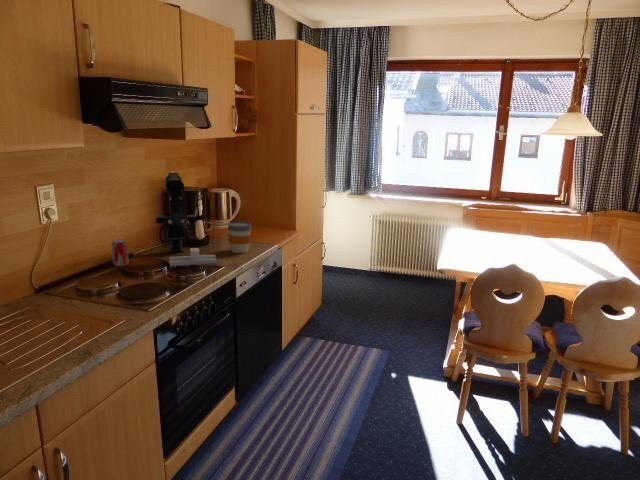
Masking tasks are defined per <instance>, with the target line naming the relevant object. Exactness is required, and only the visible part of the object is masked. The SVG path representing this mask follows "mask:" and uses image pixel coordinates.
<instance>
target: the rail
mask: <svg viewBox="0 0 640 480" xmlns="http://www.w3.org/2000/svg"><path fill="white" fill-rule="evenodd" d="M168 260H169V261H168V262H169V264H170V265H169V269H172V268H171V267H176V266H190V265H197V266H204V267H218V261H217V260H218V259H217V258H216V254H206V255H205V254H204V255H203V254H202V255H200V260H191V259H190V255H187V256H185V255H184V256H182V255H181V256H169V257H168Z"/></svg>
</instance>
